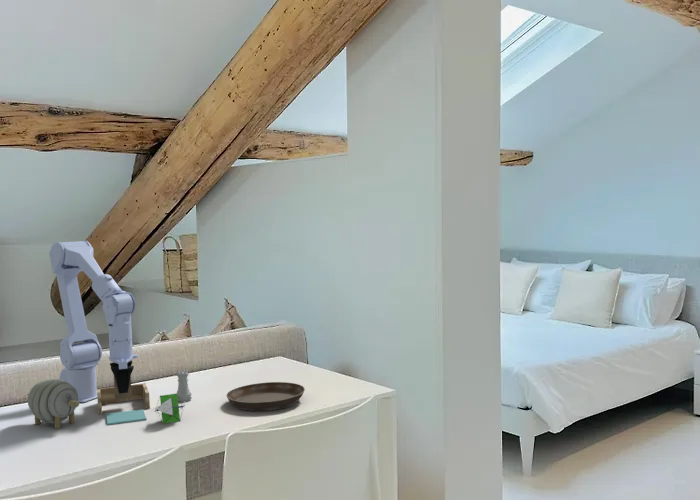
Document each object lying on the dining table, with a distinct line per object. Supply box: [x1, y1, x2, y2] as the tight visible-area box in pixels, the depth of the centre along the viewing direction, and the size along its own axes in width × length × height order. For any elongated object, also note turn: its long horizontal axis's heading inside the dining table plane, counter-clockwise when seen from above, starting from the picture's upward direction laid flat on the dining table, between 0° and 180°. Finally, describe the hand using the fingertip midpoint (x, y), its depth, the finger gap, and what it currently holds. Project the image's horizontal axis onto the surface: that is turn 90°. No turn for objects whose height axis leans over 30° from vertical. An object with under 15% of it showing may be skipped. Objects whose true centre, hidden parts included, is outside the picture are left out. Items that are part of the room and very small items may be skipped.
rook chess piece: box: [175, 369, 193, 403], centre depth 184 cm, size 4×4×8 cm
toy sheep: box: [26, 378, 80, 429], centre depth 165 cm, size 11×17×11 cm, turn 65°
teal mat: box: [105, 408, 147, 426], centre depth 169 cm, size 9×9×1 cm
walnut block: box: [113, 375, 132, 400], centre depth 178 cm, size 4×4×6 cm
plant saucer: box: [226, 381, 306, 412], centre depth 180 cm, size 21×21×3 cm
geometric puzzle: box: [154, 393, 186, 425], centre depth 165 cm, size 7×7×8 cm
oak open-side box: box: [96, 383, 151, 416], centre depth 180 cm, size 12×13×4 cm
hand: (122, 390), depth 178 cm, fingers closed on walnut block, 4 cm apart
